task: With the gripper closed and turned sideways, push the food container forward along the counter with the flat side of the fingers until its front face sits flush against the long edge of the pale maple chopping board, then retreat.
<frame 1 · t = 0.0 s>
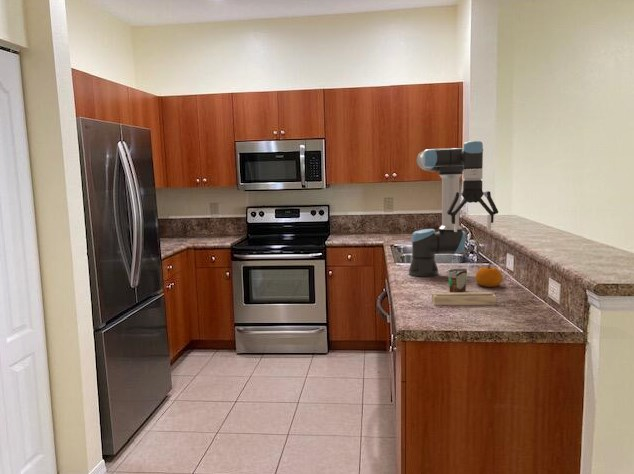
hand: (472, 231, 199), 28 cm above the counter, fingers open, 13 cm apart
food container: (454, 293, 211), on the counter
board: (463, 302, 194), on the counter
fruit: (488, 286, 222), on the counter
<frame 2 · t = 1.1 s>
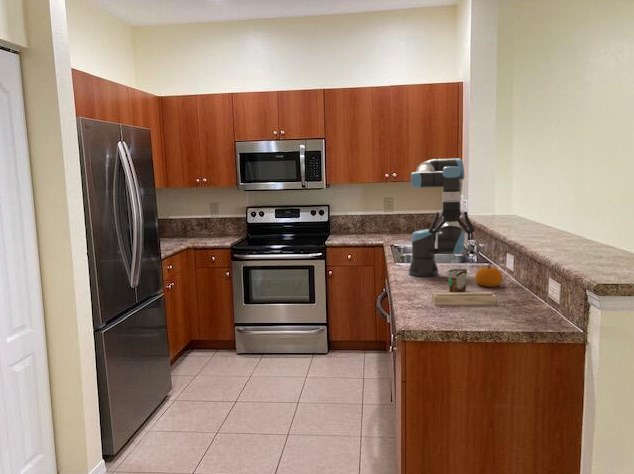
hand: (451, 248, 218), 18 cm above the counter, fingers open, 13 cm apart
nothing on the counter moved.
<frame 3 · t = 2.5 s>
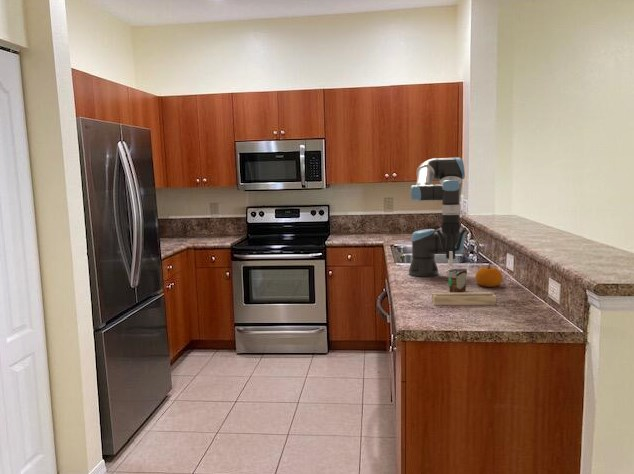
hand: (450, 265, 219), 10 cm above the counter, fingers closed
nothing on the counter moved.
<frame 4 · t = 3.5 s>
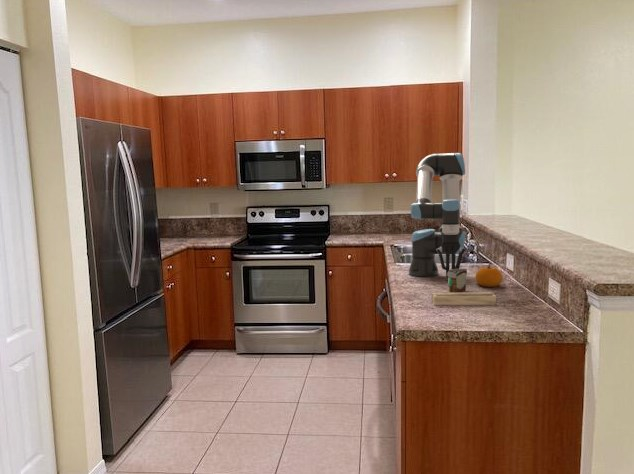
hand: (450, 284, 220), 1 cm above the counter, fingers closed
nothing on the counter moved.
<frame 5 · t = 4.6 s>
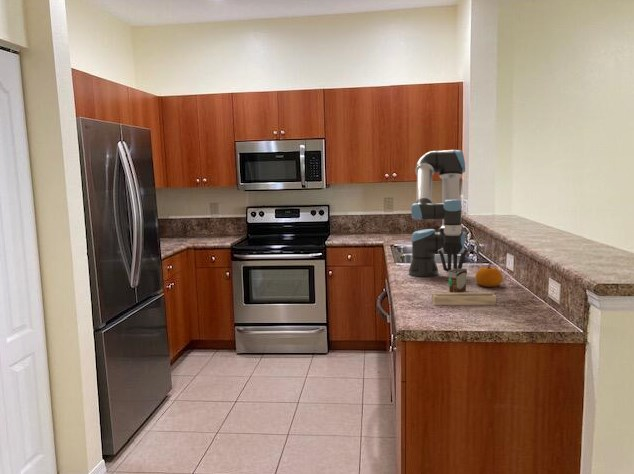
hand: (452, 286, 216), 2 cm above the counter, fingers closed
food container: (454, 293, 211), on the counter, touching gripper
everything else where it was.
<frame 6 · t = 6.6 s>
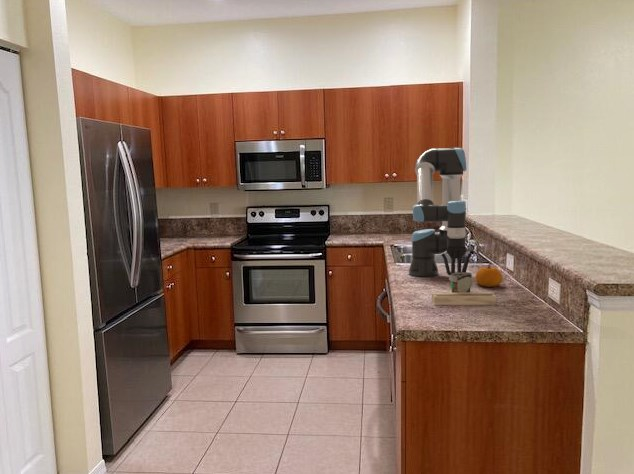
hand: (456, 290, 208), 1 cm above the counter, fingers closed
food container: (457, 297, 203), on the counter, touching gripper
everything else where it was.
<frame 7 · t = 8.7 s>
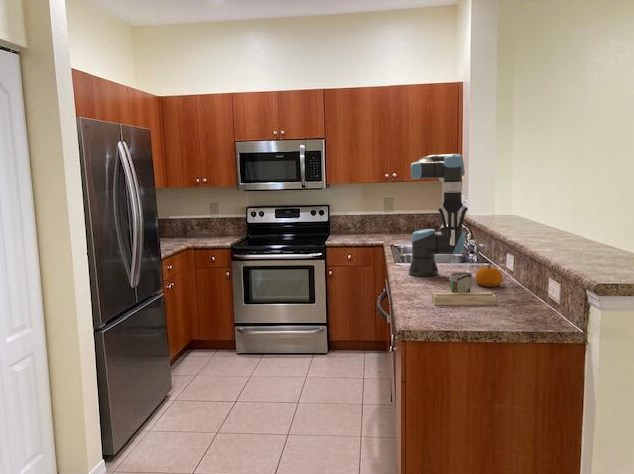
hand: (452, 244, 213), 21 cm above the counter, fingers closed
food container: (457, 297, 203), on the counter
everything else where it was.
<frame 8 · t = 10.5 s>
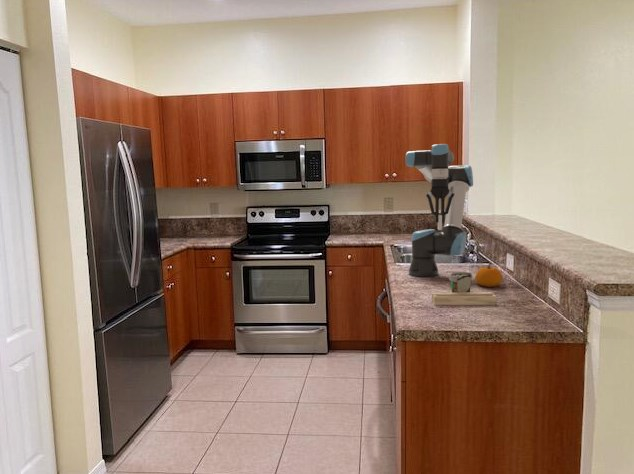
hand: (439, 229, 223), 26 cm above the counter, fingers closed
nothing on the counter moved.
at the end: food container 0.4 cm from the target spot on the counter beside the board, on the counter; food container tilted 0° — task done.
